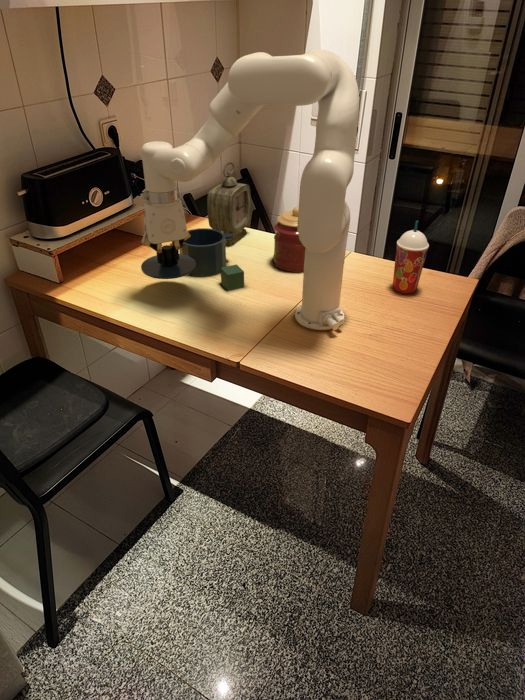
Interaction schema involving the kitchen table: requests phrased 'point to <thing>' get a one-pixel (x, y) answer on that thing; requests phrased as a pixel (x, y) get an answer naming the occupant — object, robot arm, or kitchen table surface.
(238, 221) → the tabletop clock
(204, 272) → the pot
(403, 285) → the smoothie
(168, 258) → the lid
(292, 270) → the kitchen canister
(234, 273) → the block
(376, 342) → the kitchen table surface
